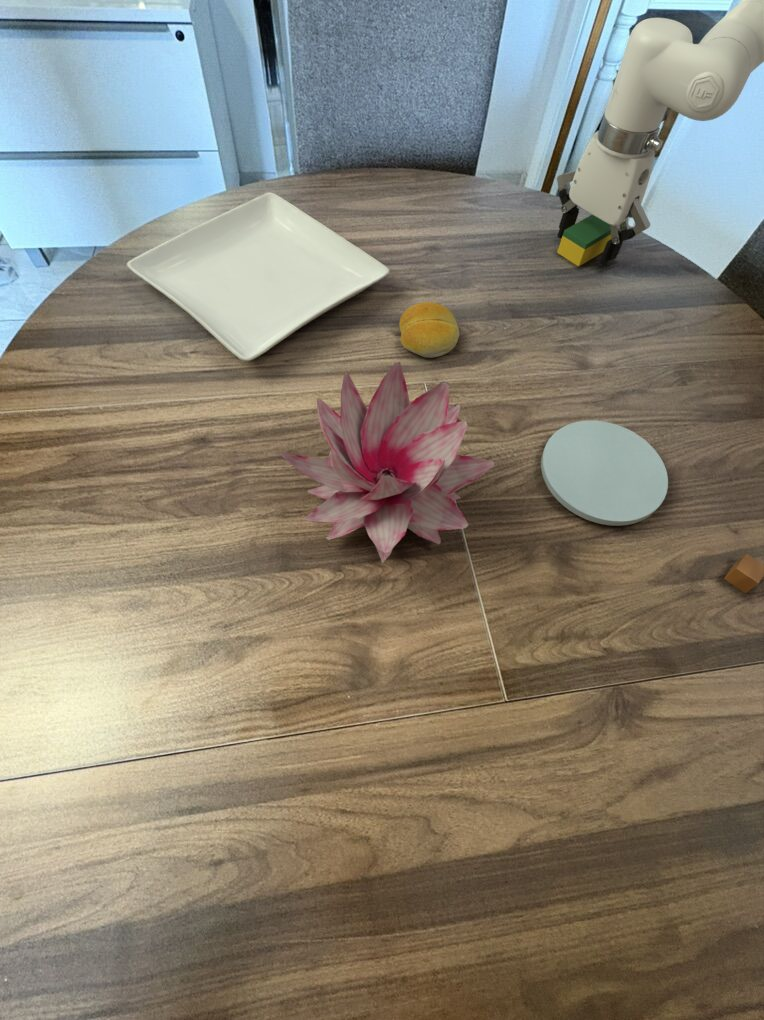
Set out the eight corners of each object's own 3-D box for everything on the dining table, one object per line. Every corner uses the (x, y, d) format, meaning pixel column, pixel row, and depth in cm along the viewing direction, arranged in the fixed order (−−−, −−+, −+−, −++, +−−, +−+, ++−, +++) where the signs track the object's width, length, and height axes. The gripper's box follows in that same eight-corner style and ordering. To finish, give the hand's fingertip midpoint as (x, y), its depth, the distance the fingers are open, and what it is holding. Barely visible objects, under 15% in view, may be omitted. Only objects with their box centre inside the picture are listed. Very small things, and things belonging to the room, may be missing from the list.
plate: (590, 410, 81) (594, 402, 79) (686, 483, 75) (693, 475, 74) (514, 468, 75) (517, 460, 74) (612, 551, 69) (617, 544, 68)
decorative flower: (334, 614, 64) (331, 543, 51) (265, 461, 74) (248, 370, 61) (509, 542, 69) (546, 462, 57) (423, 410, 79) (438, 316, 66)
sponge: (585, 235, 102) (594, 213, 98) (607, 249, 100) (616, 226, 97) (556, 252, 99) (564, 229, 95) (578, 266, 97) (586, 244, 94)
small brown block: (746, 553, 67) (768, 567, 66) (733, 564, 69) (755, 578, 68) (736, 568, 66) (758, 583, 65) (723, 578, 68) (745, 593, 67)
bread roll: (402, 361, 84) (404, 338, 80) (397, 316, 89) (399, 293, 85) (461, 360, 84) (466, 338, 81) (453, 316, 89) (458, 293, 86)
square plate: (272, 210, 101) (269, 187, 98) (391, 290, 92) (393, 268, 88) (129, 281, 90) (121, 258, 86) (249, 381, 80) (245, 359, 77)
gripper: (695, 152, 82) (642, 266, 97) (593, 100, 89) (558, 214, 104) (663, 170, 79) (613, 284, 94) (560, 115, 86) (529, 230, 101)
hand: (585, 247), depth 99 cm, fingers open, 8 cm apart
